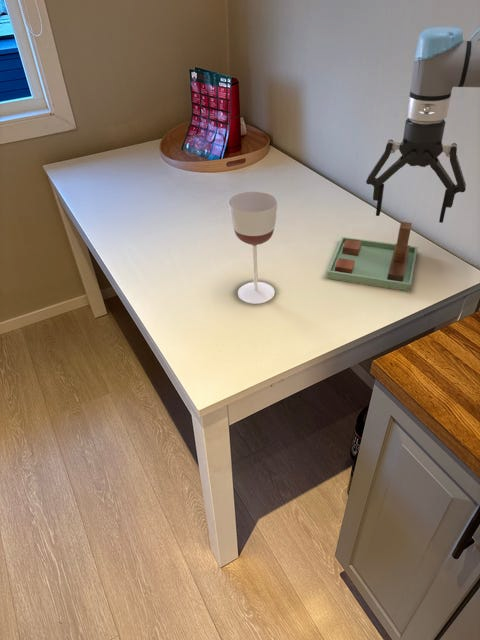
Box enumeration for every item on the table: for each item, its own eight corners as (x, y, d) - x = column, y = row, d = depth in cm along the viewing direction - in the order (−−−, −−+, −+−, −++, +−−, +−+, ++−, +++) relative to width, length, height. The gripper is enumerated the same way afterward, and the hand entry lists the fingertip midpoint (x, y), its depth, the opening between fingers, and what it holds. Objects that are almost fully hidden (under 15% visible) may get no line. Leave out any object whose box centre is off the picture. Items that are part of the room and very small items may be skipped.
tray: (416, 253, 123) (417, 246, 122) (409, 291, 111) (411, 284, 110) (341, 243, 129) (341, 236, 128) (326, 278, 117) (327, 271, 115)
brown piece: (408, 254, 122) (416, 212, 115) (402, 284, 112) (410, 241, 105) (394, 252, 123) (401, 210, 116) (386, 282, 113) (394, 239, 106)
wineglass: (245, 277, 119) (240, 189, 104) (283, 286, 115) (284, 196, 100) (228, 298, 112) (220, 207, 98) (267, 308, 109) (266, 215, 94)
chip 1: (360, 248, 126) (361, 241, 124) (357, 256, 123) (358, 249, 121) (345, 246, 127) (345, 239, 126) (342, 253, 124) (342, 247, 123)
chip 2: (354, 267, 119) (354, 260, 118) (351, 275, 116) (351, 269, 115) (337, 264, 120) (338, 257, 119) (334, 273, 117) (335, 266, 116)
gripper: (358, 121, 97) (350, 218, 110) (495, 128, 89) (468, 230, 103) (365, 110, 102) (356, 203, 116) (494, 115, 95) (469, 214, 108)
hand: (409, 216), depth 109 cm, fingers open, 13 cm apart
